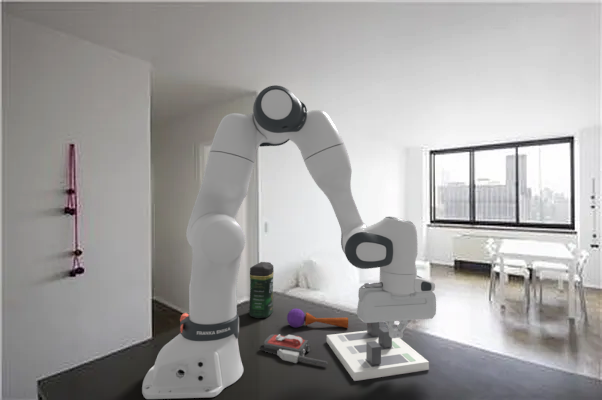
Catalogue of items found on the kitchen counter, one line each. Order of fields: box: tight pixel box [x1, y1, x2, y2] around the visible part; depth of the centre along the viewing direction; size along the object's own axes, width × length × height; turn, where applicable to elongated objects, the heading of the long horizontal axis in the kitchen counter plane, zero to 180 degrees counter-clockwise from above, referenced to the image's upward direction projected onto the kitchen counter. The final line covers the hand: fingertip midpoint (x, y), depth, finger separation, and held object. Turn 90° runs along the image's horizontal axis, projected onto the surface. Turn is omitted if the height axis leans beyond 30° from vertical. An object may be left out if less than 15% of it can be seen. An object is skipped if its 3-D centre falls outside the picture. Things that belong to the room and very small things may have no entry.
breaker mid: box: [378, 326, 392, 348], centre depth 86 cm, size 2×3×4 cm
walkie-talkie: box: [259, 333, 328, 366], centre depth 85 cm, size 9×4×20 cm
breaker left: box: [366, 322, 380, 336], centre depth 93 cm, size 2×3×4 cm
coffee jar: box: [248, 261, 275, 319], centre depth 113 cm, size 10×8×19 cm
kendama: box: [286, 308, 349, 329], centre depth 103 cm, size 6×6×20 cm
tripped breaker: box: [366, 341, 381, 365], centre depth 77 cm, size 2×3×4 cm
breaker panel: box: [326, 330, 430, 382], centre depth 85 cm, size 20×20×2 cm
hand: (395, 337), depth 78 cm, fingers closed
